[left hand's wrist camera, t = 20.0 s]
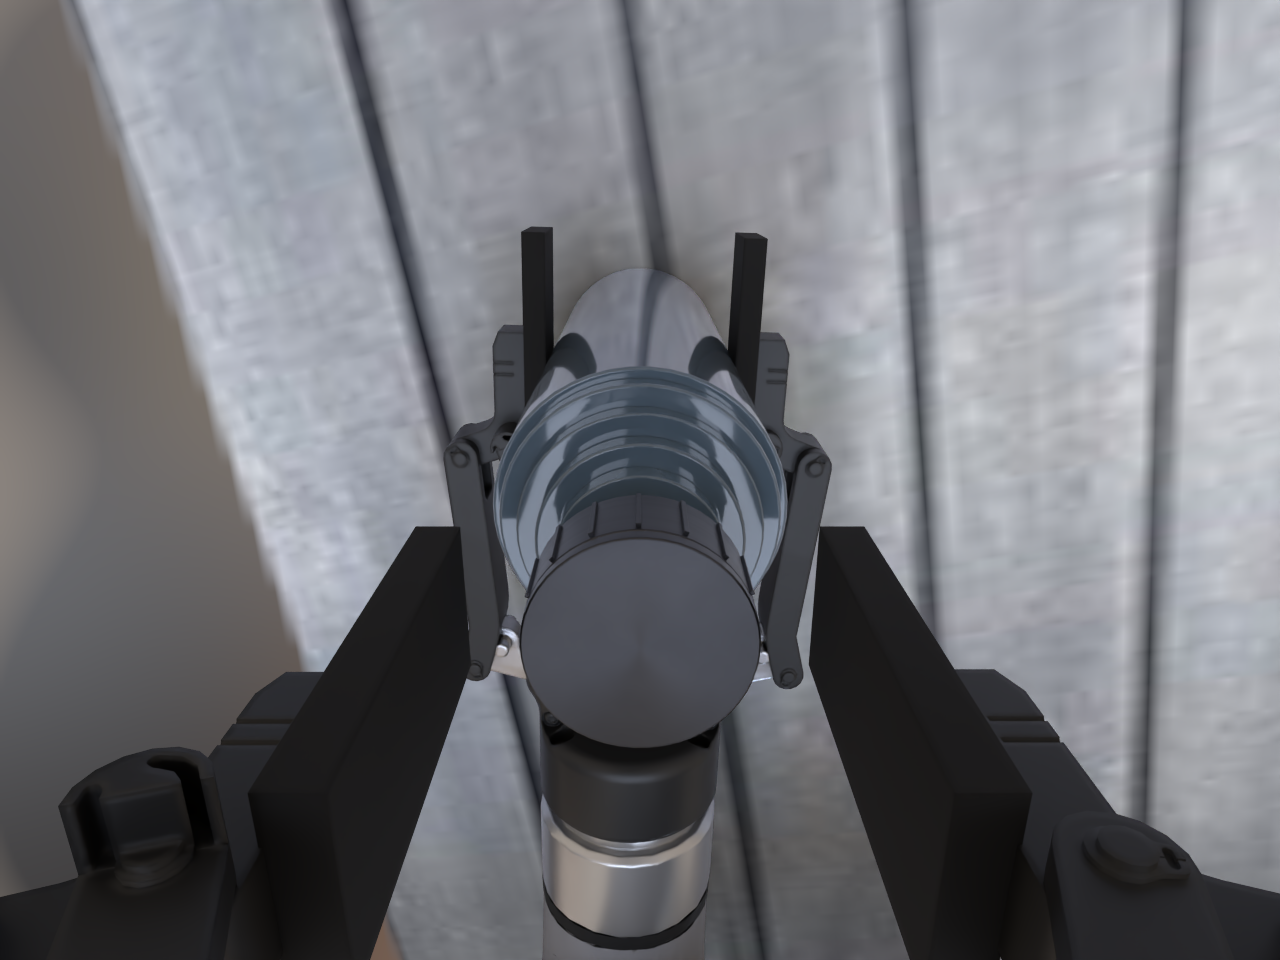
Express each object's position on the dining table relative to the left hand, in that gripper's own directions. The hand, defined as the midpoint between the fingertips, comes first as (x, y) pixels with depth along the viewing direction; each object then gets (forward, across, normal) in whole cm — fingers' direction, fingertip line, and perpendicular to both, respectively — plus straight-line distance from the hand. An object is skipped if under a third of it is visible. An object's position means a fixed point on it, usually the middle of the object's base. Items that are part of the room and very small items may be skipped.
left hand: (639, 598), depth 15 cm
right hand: (+17, 0, -5) cm, 17 cm away
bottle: (+23, 0, 0) cm, 23 cm away
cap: (-1, 0, 0) cm, 1 cm away
